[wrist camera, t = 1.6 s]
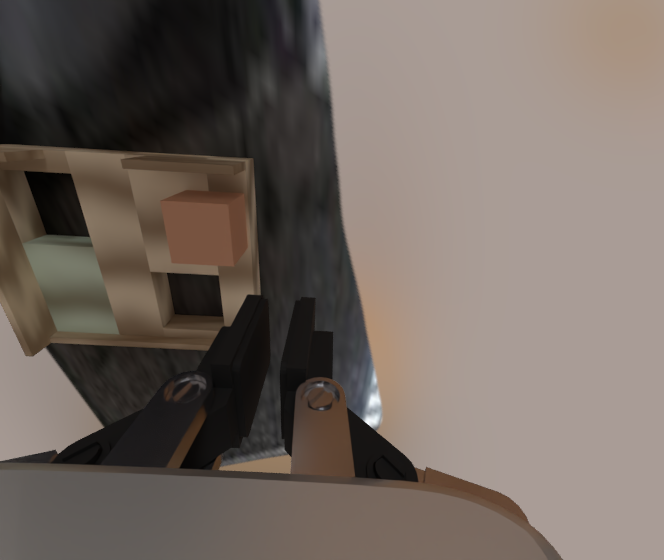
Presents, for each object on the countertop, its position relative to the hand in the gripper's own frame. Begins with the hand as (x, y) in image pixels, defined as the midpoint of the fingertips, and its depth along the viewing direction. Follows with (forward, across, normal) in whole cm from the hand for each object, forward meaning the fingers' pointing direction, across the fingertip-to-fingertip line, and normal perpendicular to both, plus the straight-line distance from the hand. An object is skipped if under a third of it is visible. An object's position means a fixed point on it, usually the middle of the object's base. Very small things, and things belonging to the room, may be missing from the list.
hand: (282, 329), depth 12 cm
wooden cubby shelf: (+17, +15, +4) cm, 23 cm away
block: (+15, +8, 0) cm, 16 cm away
